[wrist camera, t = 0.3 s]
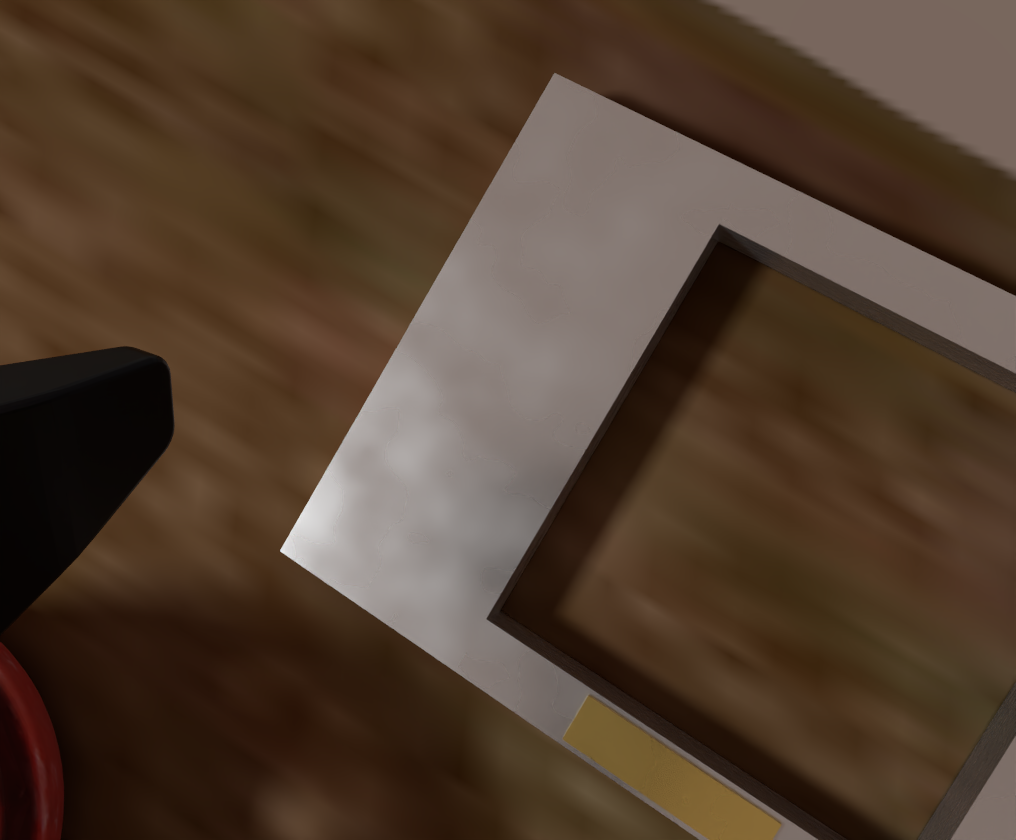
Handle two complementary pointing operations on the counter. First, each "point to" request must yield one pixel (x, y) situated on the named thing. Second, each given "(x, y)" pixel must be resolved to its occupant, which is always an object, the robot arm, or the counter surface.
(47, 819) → the plant pot
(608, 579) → the counter surface
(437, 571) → the plate
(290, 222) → the counter surface
